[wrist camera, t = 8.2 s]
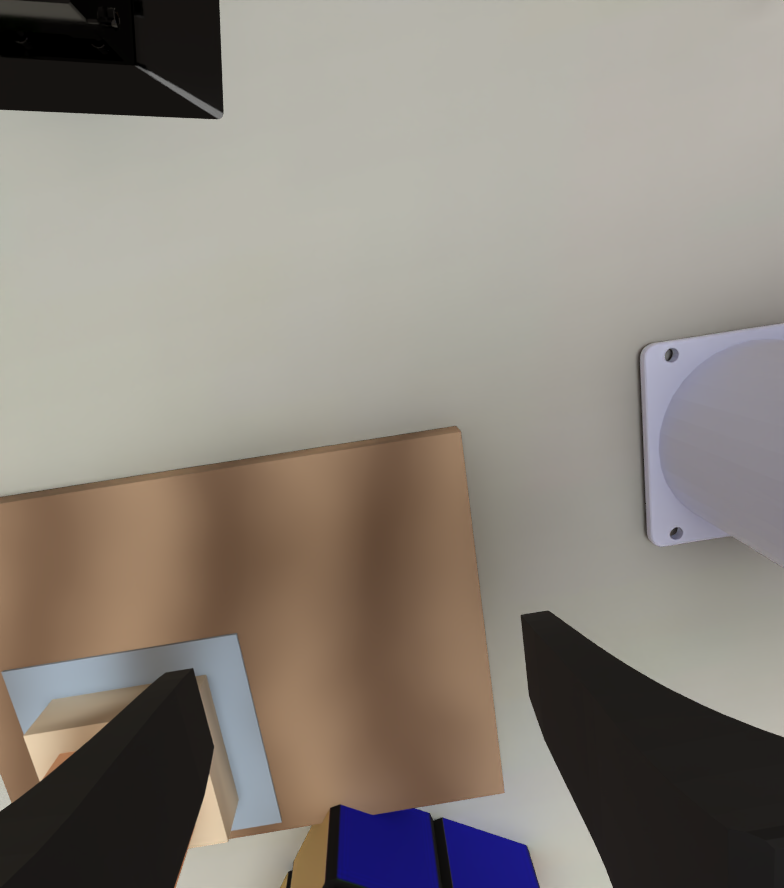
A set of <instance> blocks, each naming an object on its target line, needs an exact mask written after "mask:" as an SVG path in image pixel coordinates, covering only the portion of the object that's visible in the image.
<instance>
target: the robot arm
mask: <svg viewBox="0 0 784 888" xmlns="http://www.w3.org/2000/svg"><path fill="white" fill-rule="evenodd" d="M668 349H672V351H673V356H672V358H671V359H670V360H669V361H666V360H665V357H664V356H665V352H666V351H667V350H668ZM640 371H641V395H642V420H643V445H644V469H645V494H646V518H647V535H648V539H649V540H650V541H651V542H652V543H653V544H655V545H657V546H659V547H665V546H671V545H677V544H683V543H690V542H696V541H702V540H708V539H714V538H721V537H727V536H732V537H734V538H736V539H737V540H739V541H740V542H742V543H744V544H745V545H747V546H749V547H750V548H752V549H754V550H755V551H757V552H759V553H760V554H762V555H763V556H765V557H767V558H768V559H770V560H772V561H773V562H775V563H777V564H778V565H780V566H781V567H783V568H784V323H779V324H772V325H766V326H759V327H753V328H746V329H740V330H734V331H727V332H721V333H714V334H708V335H701V336H695V337H688V338H682V339H675V340H669V341H662V342H656V343H651V344H649V345H647V346H646V347H645V348H644V349H643V350H642V352H641V355H640ZM675 527H677V528H678V529H677V532H676V533H675V534H674V535H672V536H670V532H671V530H672V529H673V528H675ZM521 622H522V632H523V642H524V651H525V661H526V671H527V681H528V690H529V697H530V700H531V703H532V706H533V708H534V711H535V714H536V717H537V720H538V723H539V726H540V729H541V731H542V734H543V737H544V740H545V742H546V744H547V746H548V748H549V750H550V752H551V754H552V756H553V759H554V761H555V763H556V765H557V767H558V769H559V771H560V773H561V775H562V777H563V779H564V781H565V783H566V785H567V787H568V789H569V792H570V794H571V796H572V798H573V800H574V802H575V804H576V806H577V808H578V810H579V812H580V814H581V816H582V818H583V820H584V822H585V824H586V826H587V828H588V830H589V832H590V834H591V837H592V839H593V841H594V843H595V845H596V847H597V850H598V852H599V854H600V856H601V859H602V861H603V863H604V865H605V868H606V870H607V873H608V876H609V878H610V881H611V883H612V886H613V888H784V737H781V736H778V735H776V734H773V733H770V732H767V731H764V730H762V729H759V728H756V727H754V726H751V725H749V724H746V723H744V722H741V721H739V720H736V719H734V718H731V717H729V716H726V715H724V714H721V713H719V712H717V711H714V710H712V709H710V708H708V707H705V706H703V705H701V704H699V703H697V702H695V701H693V700H691V699H689V698H687V697H685V696H683V695H681V694H679V693H676V692H674V691H672V690H670V689H669V688H667V687H665V686H663V685H661V684H659V683H657V682H656V681H654V680H652V679H650V678H649V677H647V676H645V675H644V674H642V673H640V672H638V671H637V670H635V669H633V668H632V667H630V666H628V665H627V664H625V663H623V662H622V661H620V660H619V659H617V658H616V657H614V656H612V655H611V654H609V653H608V652H606V651H605V650H603V649H602V648H600V647H599V646H597V645H596V644H595V643H593V642H592V641H590V640H589V639H587V638H586V637H585V636H583V635H582V634H580V633H579V632H578V631H576V630H575V629H573V628H572V627H571V626H569V625H568V624H566V623H565V622H564V621H562V620H561V619H560V618H558V617H557V616H555V615H554V614H553V613H551V612H550V611H542V612H536V613H530V614H524V615H521ZM213 751H214V744H213V740H212V736H211V733H210V729H209V725H208V722H207V718H206V714H205V710H204V707H203V703H202V699H201V695H200V692H199V688H198V684H197V680H196V677H195V673H194V669H193V668H190V669H184V670H178V671H172V672H165V673H164V674H163V675H162V676H160V677H159V678H158V679H157V680H155V681H154V682H153V683H152V684H151V685H150V686H148V687H147V688H146V689H145V690H144V691H143V692H142V693H141V694H139V695H138V696H137V697H136V698H135V699H134V700H133V701H132V702H131V703H130V704H129V705H127V706H126V707H125V708H124V709H123V710H122V711H121V712H120V713H119V714H118V715H116V716H115V717H114V718H113V719H112V720H111V721H110V722H109V723H108V724H106V725H105V726H104V727H103V728H102V729H101V730H100V731H99V732H98V733H97V734H95V735H94V736H93V737H92V738H91V739H90V740H89V741H88V742H86V743H85V744H84V745H83V746H82V747H80V748H79V749H78V750H77V751H76V752H75V753H73V754H72V755H71V756H70V757H69V758H67V759H66V760H65V761H64V762H63V763H62V764H60V765H59V766H58V767H57V768H56V769H54V770H53V771H52V772H51V773H50V774H49V775H47V776H46V777H45V778H44V779H43V780H41V781H40V782H39V783H37V784H36V785H35V786H34V787H32V788H31V789H30V790H29V791H27V792H26V793H25V794H23V795H22V796H21V797H19V798H18V799H17V800H15V801H14V802H13V803H11V804H10V805H9V806H7V807H6V808H5V809H3V810H2V811H0V888H174V886H175V883H176V880H177V877H178V874H179V872H180V869H181V866H182V863H183V860H184V857H185V854H186V851H187V848H188V845H189V842H190V839H191V836H192V833H193V830H194V827H195V824H196V821H197V818H198V815H199V812H200V809H201V805H202V802H203V799H204V796H205V791H206V787H207V782H208V778H209V773H210V768H211V762H212V757H213Z"/></svg>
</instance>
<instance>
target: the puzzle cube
mask: <svg viewBox="0 0 784 888" xmlns="http://www.w3.org/2000/svg"><path fill="white" fill-rule="evenodd" d="M280 888H540V886H539V883H538V880H537V877H536V873H535V870H534V867H533V863H532V860H531V857H530V853H529V851H528V848H527V846H526V845H524V844H521V843H518V842H515V841H512V840H509V839H506V838H503V837H500V836H496V835H493V834H490V833H487V832H484V831H481V830H478V829H475V828H472V827H469V826H466V825H463V824H460V823H457V822H454V821H451V820H448V819H445V818H440V819H437V820H434V821H433V819H432V817H431V815H430V813H427V812H424V811H421V810H418V809H415V808H411V809H405V810H399V811H393V812H387V813H381V814H375V815H371V814H368V813H365V812H362V811H359V810H356V809H353V808H350V807H347V806H344V805H341V804H339V805H336V806H334V807H331V808H330V809H329V811H328V813H327V815H326V817H325V818H324V820H323V822H322V824H316V825H312V826H311V828H310V830H309V832H308V834H307V836H306V838H305V840H304V842H303V844H302V846H301V848H300V850H299V852H298V854H297V856H296V858H295V860H294V864H293V870H292V871H289V872H288V873H287V875H286V877H285V879H284V881H283V883H282V885H281V887H280Z"/></svg>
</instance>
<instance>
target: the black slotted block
mask: <svg viewBox="0 0 784 888" xmlns="http://www.w3.org/2000/svg"><path fill="white" fill-rule="evenodd" d="M0 110H20V111H43V112H65V113H88V114H110V115H133V116H155V117H178V118H201V119H220V118H222V116H223V89H222V62H221V36H220V10H219V0H0Z"/></svg>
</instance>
